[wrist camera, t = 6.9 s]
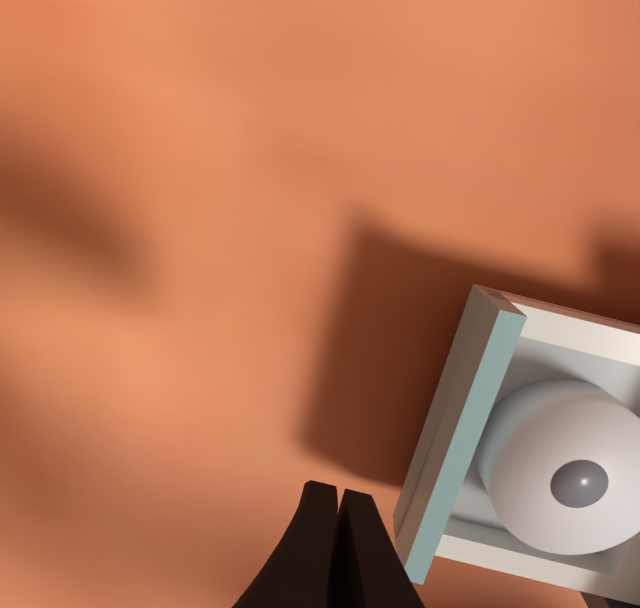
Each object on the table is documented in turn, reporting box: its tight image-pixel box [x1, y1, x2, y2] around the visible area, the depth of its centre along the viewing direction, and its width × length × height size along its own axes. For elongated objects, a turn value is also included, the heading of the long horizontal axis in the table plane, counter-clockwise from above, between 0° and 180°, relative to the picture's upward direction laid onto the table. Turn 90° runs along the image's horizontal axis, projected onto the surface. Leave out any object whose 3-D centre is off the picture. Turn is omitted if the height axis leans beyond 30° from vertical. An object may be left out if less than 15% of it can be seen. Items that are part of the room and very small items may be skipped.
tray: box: [393, 284, 640, 606], centre depth 16 cm, size 10×12×3 cm
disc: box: [475, 379, 640, 555], centre depth 16 cm, size 6×6×2 cm
